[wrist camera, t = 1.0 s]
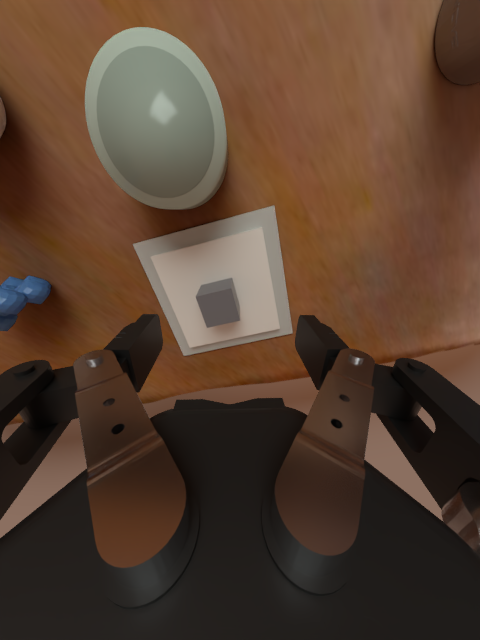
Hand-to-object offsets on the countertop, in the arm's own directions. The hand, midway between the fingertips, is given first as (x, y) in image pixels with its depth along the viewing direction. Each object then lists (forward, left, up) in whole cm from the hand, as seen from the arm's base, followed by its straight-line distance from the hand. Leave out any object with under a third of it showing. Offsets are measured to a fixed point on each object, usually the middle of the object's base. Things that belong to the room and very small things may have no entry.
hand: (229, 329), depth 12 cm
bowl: (+3, -13, -19) cm, 23 cm away
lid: (+3, +4, -19) cm, 20 cm away
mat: (+3, +4, -19) cm, 20 cm away
